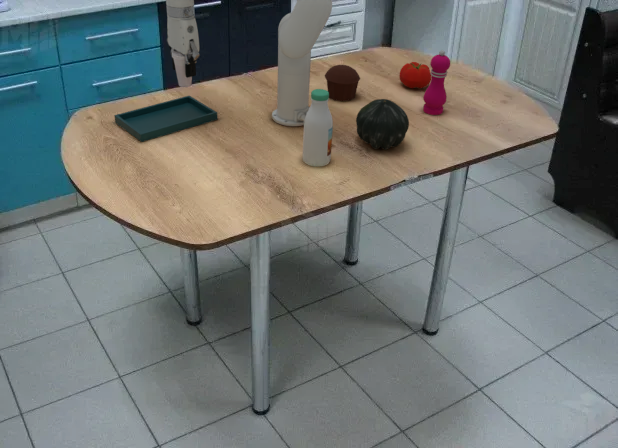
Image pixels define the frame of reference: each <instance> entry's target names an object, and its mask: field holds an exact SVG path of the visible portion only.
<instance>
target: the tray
mask: <svg viewBox="0 0 618 448" xmlns="http://www.w3.org/2000/svg"><path fill="white" fill-rule="evenodd" d="M113 117H114V123H115V124H116V125H118V127H121V128H122V129H123V130H124V131H126V132H127V133H128V134H129V135H131V136H132V137H134V139H137V140H138V141H139V142H140V143H144V142H147V141H149V140H153V139H157V138H160V137H163V136H167V135H170V134H173V133H177V132H180V131H184V130H187V129H190V128H194V127H198V126H201V125H204V124H207V123H210V122H214V121H217V120H218V118H219V117H218V112H217V110H215V109H213V108H211V107H210V106H207V105H206V104H204V103H203V102H201V101H199V100H198V99H197V98H195V97H193V96H191V95H186V96H181V97H178V98H174V99H170V100H167V101H163V102H159V103H156V104H151V105H147V106H143V107H141V108H136V109H132V110H129V111H125V112H121V113H117V114H114V116H113Z"/></svg>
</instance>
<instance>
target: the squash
mask: <svg viewBox="0 0 618 448" xmlns="http://www.w3.org/2000/svg"><path fill="white" fill-rule="evenodd" d="M355 123H356V134H357V136H358V137H359V139H360V140H362V142H364V143H365V144H367V145H370V146H371V147H372V149H374V150H378V149H380V148H381V149H382V150H385V151H386V150H388V149H390V148H394V147H397V146H400V144H402V143H403V142H404V141H405V138H406V134H407V132H408V130H409V126H410V121H409V117H408V114H407V113H406V111H405V110H404V109H403V108H402V107H401V106H400V105H398V104H397V103H396V102H394V101H392V100H391V99H387V98H378V99H374V100H372V101H370V102H368V103H367V104H366V105H363V107H361V108H360V110H358V113H357V115H356V118H355Z"/></svg>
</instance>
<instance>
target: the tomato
mask: <svg viewBox="0 0 618 448" xmlns="http://www.w3.org/2000/svg"><path fill="white" fill-rule="evenodd" d="M431 79H432V75H431V69H430V67H429V65H428V64H427V65H426V64H425V63H419V62H417V61H411V62H409V63H408V62H407V63H405V64H404V65H403V66H402V67H401V68H400V71H399V81H400V83H402V84H403V85H404V86H405V87H407V88H409V89H415V88H416V89H423V88H427V87H428V86H429V85H430V83H431Z"/></svg>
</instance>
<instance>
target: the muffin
mask: <svg viewBox="0 0 618 448" xmlns="http://www.w3.org/2000/svg"><path fill="white" fill-rule="evenodd" d="M324 78H325V81H326V88H327V91H328V92H329V98H328V99H331V100H333V101H336V102H347V101H348V102H349V101H352V100H353V99H355V97H356V93H357V89H358V85H359V81H360V80H361V77H360V75H359V73H358V72H357V70H356V69H355V68H353V67H352V66H350V65H347V64H337V65H336V64H335V65H334V66H331V67H330V68H329V69H328V70H327V71H326V72H325V74H324Z"/></svg>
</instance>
